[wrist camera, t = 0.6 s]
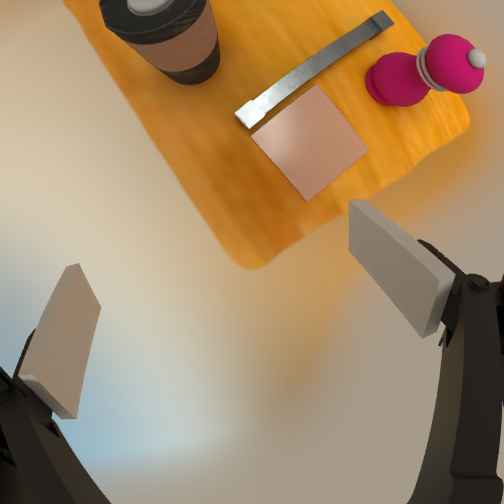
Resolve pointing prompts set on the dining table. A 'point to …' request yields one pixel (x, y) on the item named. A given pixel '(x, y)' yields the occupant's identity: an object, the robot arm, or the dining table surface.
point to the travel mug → (168, 35)
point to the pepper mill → (426, 72)
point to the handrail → (311, 69)
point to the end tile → (310, 142)
